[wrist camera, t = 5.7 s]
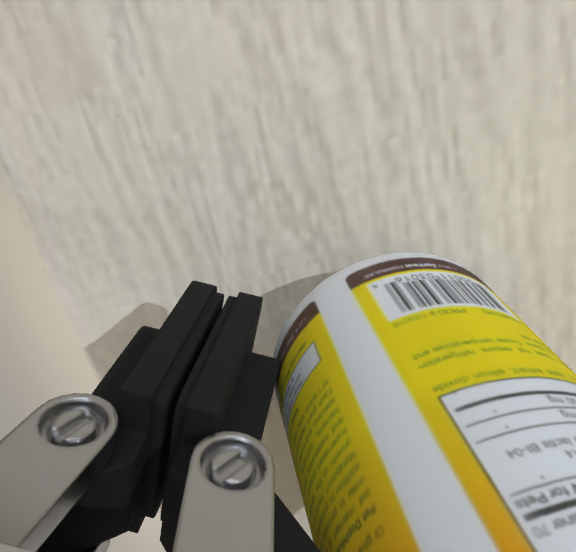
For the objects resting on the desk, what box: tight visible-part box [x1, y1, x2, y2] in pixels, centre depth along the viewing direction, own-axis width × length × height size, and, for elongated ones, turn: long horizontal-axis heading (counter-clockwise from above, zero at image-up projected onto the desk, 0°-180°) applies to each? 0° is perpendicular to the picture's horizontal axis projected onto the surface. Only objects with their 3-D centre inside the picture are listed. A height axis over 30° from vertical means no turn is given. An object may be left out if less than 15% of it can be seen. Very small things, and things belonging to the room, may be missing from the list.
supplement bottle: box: [274, 252, 576, 552], centre depth 8 cm, size 6×6×10 cm
